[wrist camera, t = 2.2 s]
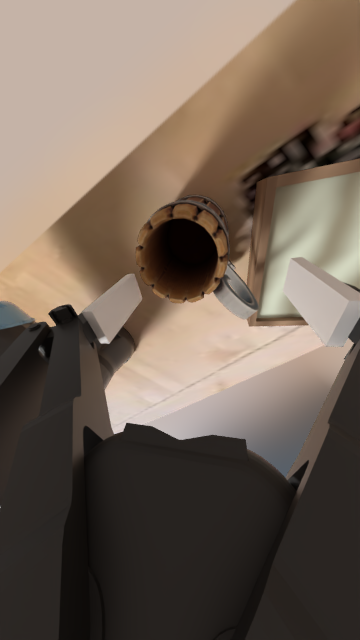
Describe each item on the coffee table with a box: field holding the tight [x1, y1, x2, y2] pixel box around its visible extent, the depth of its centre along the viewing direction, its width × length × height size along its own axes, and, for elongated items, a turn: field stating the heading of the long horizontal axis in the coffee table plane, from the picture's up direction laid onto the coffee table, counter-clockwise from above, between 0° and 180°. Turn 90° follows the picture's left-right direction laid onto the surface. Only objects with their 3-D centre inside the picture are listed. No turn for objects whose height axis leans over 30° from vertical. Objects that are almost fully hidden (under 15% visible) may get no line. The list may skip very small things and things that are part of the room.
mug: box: [136, 195, 259, 319], centre depth 20 cm, size 16×11×15 cm
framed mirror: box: [247, 159, 360, 326], centre depth 23 cm, size 16×20×5 cm
